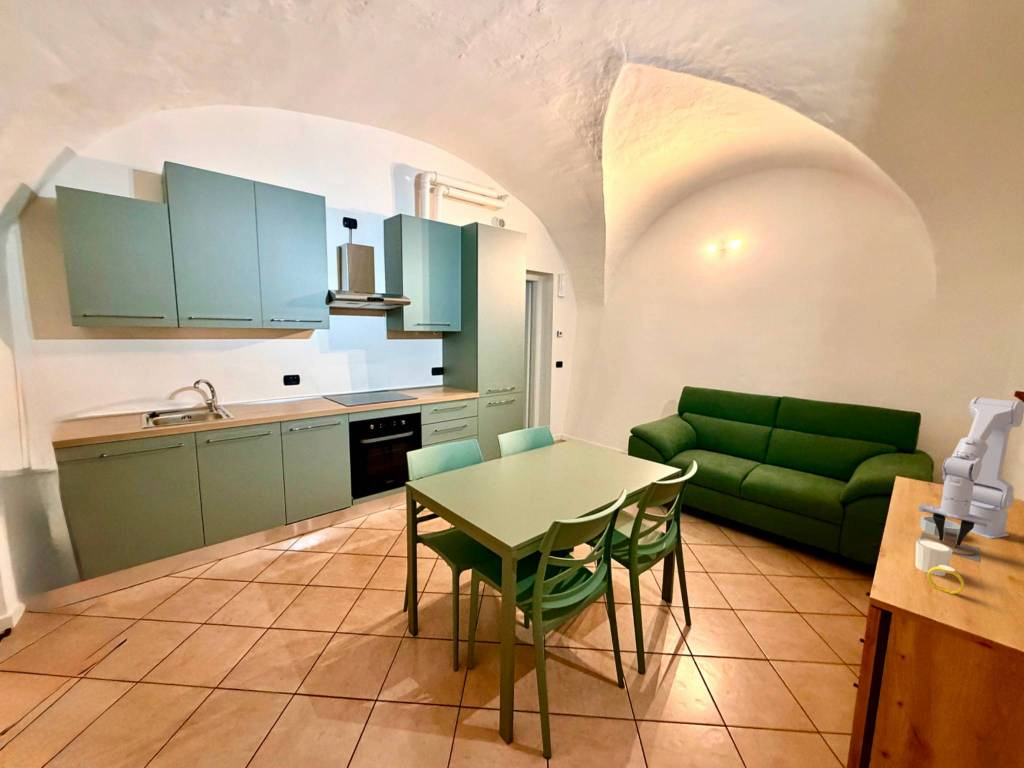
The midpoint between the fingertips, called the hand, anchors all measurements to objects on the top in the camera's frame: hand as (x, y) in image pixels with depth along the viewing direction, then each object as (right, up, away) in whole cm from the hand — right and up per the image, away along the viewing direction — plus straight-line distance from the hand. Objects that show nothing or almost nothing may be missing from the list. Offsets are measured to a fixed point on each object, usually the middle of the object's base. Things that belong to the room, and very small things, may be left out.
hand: (949, 541), depth 119 cm
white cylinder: (-18, -3, -12) cm, 22 cm away
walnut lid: (0, -1, 0) cm, 1 cm away
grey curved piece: (+7, -1, +9) cm, 11 cm away
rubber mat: (0, -2, 0) cm, 2 cm away
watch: (-24, -4, -21) cm, 32 cm away
